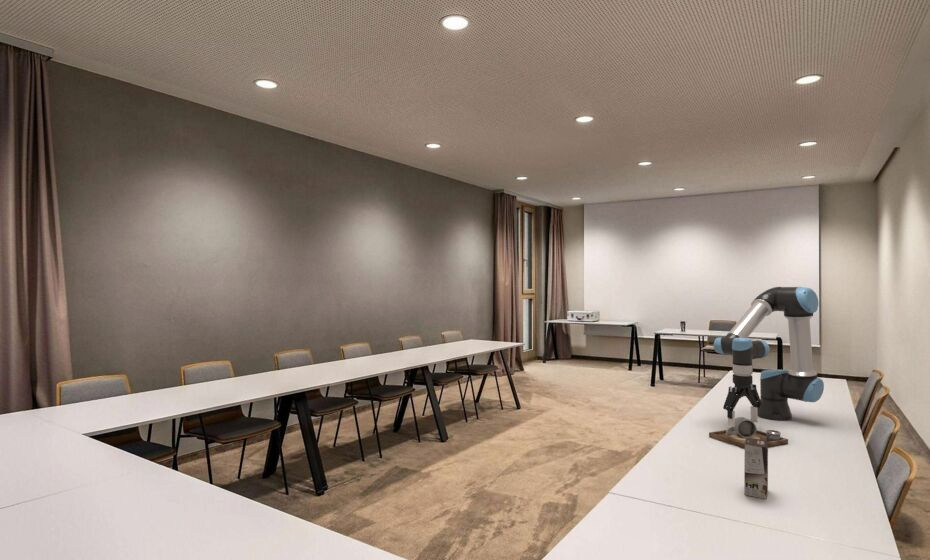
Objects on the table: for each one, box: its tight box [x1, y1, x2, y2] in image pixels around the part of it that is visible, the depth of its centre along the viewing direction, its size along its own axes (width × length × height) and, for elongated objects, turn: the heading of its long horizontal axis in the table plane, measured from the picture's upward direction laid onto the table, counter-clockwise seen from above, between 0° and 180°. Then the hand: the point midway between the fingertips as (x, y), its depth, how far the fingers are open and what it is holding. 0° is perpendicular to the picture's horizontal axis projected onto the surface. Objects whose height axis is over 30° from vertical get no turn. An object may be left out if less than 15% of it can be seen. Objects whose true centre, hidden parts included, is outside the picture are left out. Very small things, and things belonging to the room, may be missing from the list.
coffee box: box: [743, 438, 769, 500], centre depth 168 cm, size 9×6×16 cm
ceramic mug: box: [725, 416, 757, 438], centre depth 224 cm, size 11×8×8 cm
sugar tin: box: [765, 429, 781, 442], centre depth 218 cm, size 5×5×5 cm
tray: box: [708, 429, 789, 450], centre depth 221 cm, size 22×20×2 cm
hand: (742, 424), depth 224 cm, fingers open, 13 cm apart
